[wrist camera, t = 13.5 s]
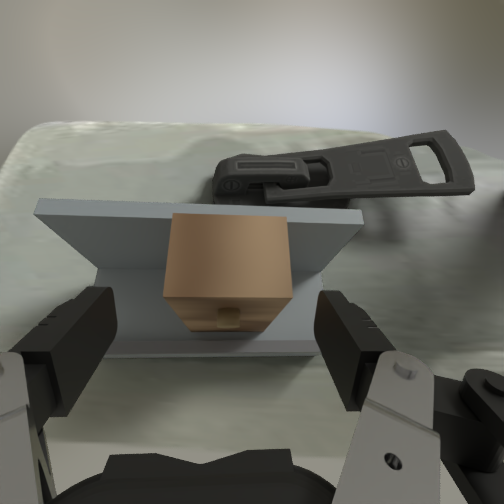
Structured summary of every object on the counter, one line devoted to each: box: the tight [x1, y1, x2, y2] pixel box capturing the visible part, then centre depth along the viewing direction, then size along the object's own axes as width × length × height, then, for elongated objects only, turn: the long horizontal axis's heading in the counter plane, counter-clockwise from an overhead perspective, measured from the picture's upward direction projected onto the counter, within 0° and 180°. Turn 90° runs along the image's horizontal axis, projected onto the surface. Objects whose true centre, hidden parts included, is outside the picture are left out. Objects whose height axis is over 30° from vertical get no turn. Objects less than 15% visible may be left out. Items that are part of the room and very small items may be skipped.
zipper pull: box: [213, 130, 475, 209], centre depth 28 cm, size 9×7×25 cm
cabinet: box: [163, 213, 293, 332], centre depth 17 cm, size 5×5×10 cm
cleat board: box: [34, 198, 364, 358], centre depth 19 cm, size 18×7×12 cm, turn 91°
